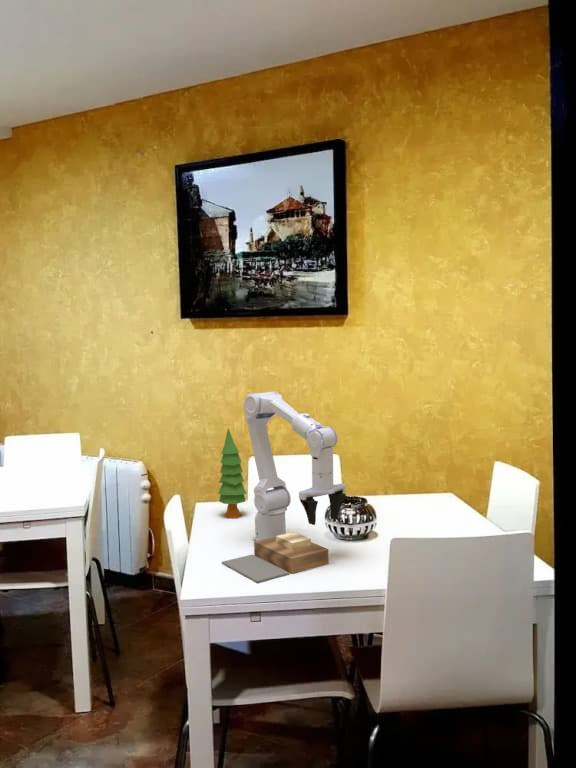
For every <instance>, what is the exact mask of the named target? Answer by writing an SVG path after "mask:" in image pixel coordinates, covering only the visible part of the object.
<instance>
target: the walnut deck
mask: <svg viewBox="0 0 576 768" xmlns="http://www.w3.org/2000/svg"><path fill="white" fill-rule="evenodd" d="M253 547H254V548H253V549H254V550H253V551H254V552H253V555H255V556H257V557H259V558H261V559H263V560H265V561H267V562H269V563H271V564H273V565H275V566H277V567H279V568H281V569H283V570H285V571H287V572H289V574H291V575H292V574H297V573H300V572H303V571H308V570H311V569H314V568H318V567H323V566H326V565H328V564H329V549H328V548H326V547H324V546H321V545H319V544H316V543H314V542H312V541H311V546H309V547H305V548H301V549H297V550H290V549H288V548H286V547H284V546H281V545H279V544H277V543H276V537H271V538H267V539H263V540H258V541H256V540H253Z"/></svg>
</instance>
